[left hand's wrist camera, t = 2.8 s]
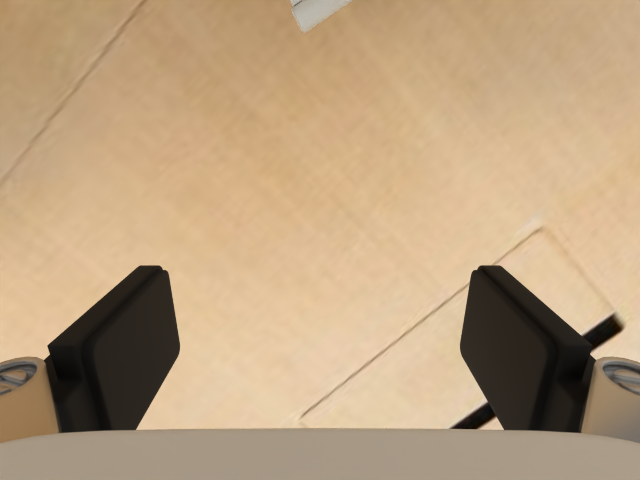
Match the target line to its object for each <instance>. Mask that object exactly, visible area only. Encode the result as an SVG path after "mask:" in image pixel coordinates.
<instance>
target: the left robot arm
mask: <svg viewBox="0 0 640 480" xmlns="http://www.w3.org/2000/svg"><path fill="white" fill-rule="evenodd" d="M48 349H49V352H50V355H49V356H48V357H47V358H46V359H45V360H44V361H43V360H42V359H40V358H37V357H21V358H15V359H11V360H7V361H4V362H1V363H0V480H640V363H639V362H636V361H633V360H629V359H625V358H619V357H603V358H600V359H598V360H597V361H596V360H595V359H594V358H593V357H592V356H591V355H590V352H591V349H592V345H591V344H590V343H589V342H588V341H587V340H585V339H584V338H583V337H582V336H581V335H580V334H579V333H577V332H576V331H575V330H574V329H573V328H572V327H571V326H569V325H568V324H567V323H566V322H565V321H564V320H562V319H561V318H560V317H559V316H558V315H557V314H556V313H554V312H553V311H552V310H551V309H550V308H549V307H548V306H546V305H545V304H544V303H543V302H542V301H541V300H539V299H538V298H537V297H536V296H535V295H534V294H533V293H531V292H530V291H529V290H528V289H527V288H526V287H525V286H523V285H522V284H521V283H520V282H519V281H518V280H516V279H515V278H514V277H513V276H512V275H511V274H510V273H508V272H507V271H506V270H505V269H504V268H503V267H501V266H479V267H478V269H477V270H474V271H473V272H472V274H471V279H470V286H469V292H468V298H467V304H466V310H465V317H464V323H463V329H462V335H461V342H460V351H461V355H462V357H463V359H464V361H465V362H466V364H467V366H468V368H469V369H470V371H471V373H472V374H473V376H474V378H475V380H476V381H477V383H478V385H479V387H480V388H481V390H482V392H483V394H484V395H485V397H486V399H487V401H488V402H489V404H490V406H491V408H492V409H493V411H494V413H495V415H496V416H497V418H498V420H499V422H500V423H501V425H502V427H503V428H504V430H472V429H345V428H295V429H168V430H136V428H137V427H138V425H139V423H140V422H141V420H142V418H143V416H144V415H145V413H146V411H147V409H148V408H149V406H150V404H151V402H152V401H153V399H154V397H155V395H156V394H157V392H158V390H159V388H160V387H161V385H162V383H163V381H164V380H165V378H166V376H167V374H168V373H169V371H170V369H171V368H172V366H173V364H174V362H175V361H176V359H177V357H178V355H179V351H180V342H179V335H178V329H177V323H176V317H175V310H174V304H173V298H172V292H171V286H170V279H169V274H168V272H167V271H166V270H163V269H162V267H161V266H139V267H137V268H136V269H135V270H134V271H133V272H132V273H130V274H129V275H128V276H127V277H126V278H125V279H124V280H122V281H121V282H120V283H119V284H118V285H117V286H115V287H114V288H113V289H112V290H111V291H110V292H109V293H107V294H106V295H105V296H104V297H103V298H102V299H101V300H99V301H98V302H97V303H96V304H95V305H94V306H92V307H91V308H90V309H89V310H88V311H87V312H86V313H84V314H83V315H82V316H81V317H80V318H79V319H78V320H76V321H75V322H74V323H73V324H72V325H71V326H69V327H68V328H67V329H66V330H65V331H64V332H63V333H61V334H60V335H59V336H58V337H57V338H56V339H55V340H53V341H52V342H51V343H50V344H49V345H48Z"/></svg>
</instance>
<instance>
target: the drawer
mask: <svg viewBox="0 0 640 480" xmlns="http://www.w3.org/2000/svg"><path fill="white" fill-rule="evenodd" d="M351 1H353V0H303V1H302V0H290V2H291V4H292V6H293V8H291V11H292V14H293V16H294V18H295V20H296V22H297V24H298V25H299V27H300V29H301V31H302V32H303V33H306V32H307V31H309V30H310V29H312V28H313V27H315V26H316V25H317V24H319V23H320V22H322V21H323V20H325V19H326V18H328V17H329V16H331V15H332V14H334V13H335V12H337V11H338V10H339V9H341V8H342V7H344V6H345V5H347V4H348V3H350V2H351Z"/></svg>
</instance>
